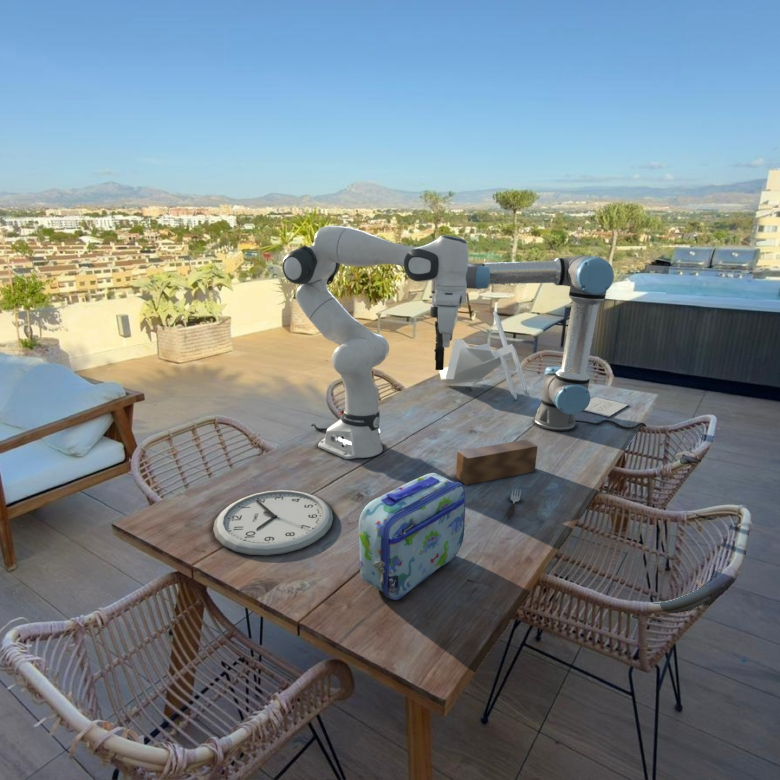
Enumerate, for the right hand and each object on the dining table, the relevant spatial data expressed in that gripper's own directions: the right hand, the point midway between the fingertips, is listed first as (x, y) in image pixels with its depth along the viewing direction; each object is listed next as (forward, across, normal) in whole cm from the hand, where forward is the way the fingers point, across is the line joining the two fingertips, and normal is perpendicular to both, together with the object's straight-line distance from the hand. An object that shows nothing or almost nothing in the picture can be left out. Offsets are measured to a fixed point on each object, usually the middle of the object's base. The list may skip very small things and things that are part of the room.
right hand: (438, 365), depth 187 cm
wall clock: (+26, +66, -42) cm, 82 cm away
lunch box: (+26, +83, -6) cm, 87 cm away
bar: (+26, +32, +18) cm, 45 cm away
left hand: (-15, +32, +1) cm, 35 cm away
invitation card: (+26, -38, +72) cm, 85 cm away
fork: (+26, +53, +20) cm, 62 cm away
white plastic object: (+26, -52, +21) cm, 62 cm away
